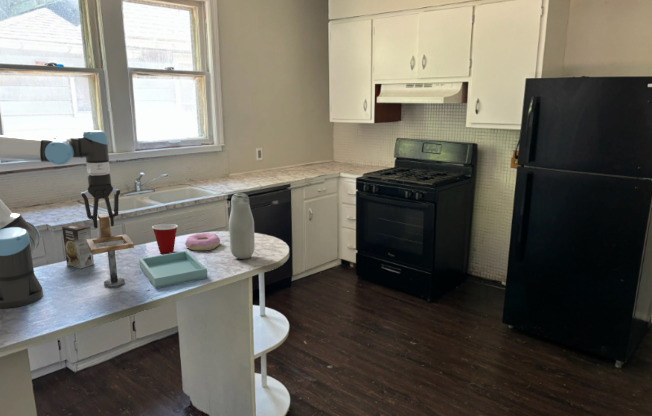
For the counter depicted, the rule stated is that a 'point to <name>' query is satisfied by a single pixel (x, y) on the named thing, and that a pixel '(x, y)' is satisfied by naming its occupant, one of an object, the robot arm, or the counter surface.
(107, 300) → the counter surface
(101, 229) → the ring
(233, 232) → the glass bottle
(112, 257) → the grey metal stand
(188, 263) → the tray
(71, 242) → the coffee box
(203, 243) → the donut
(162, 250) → the plastic cup
